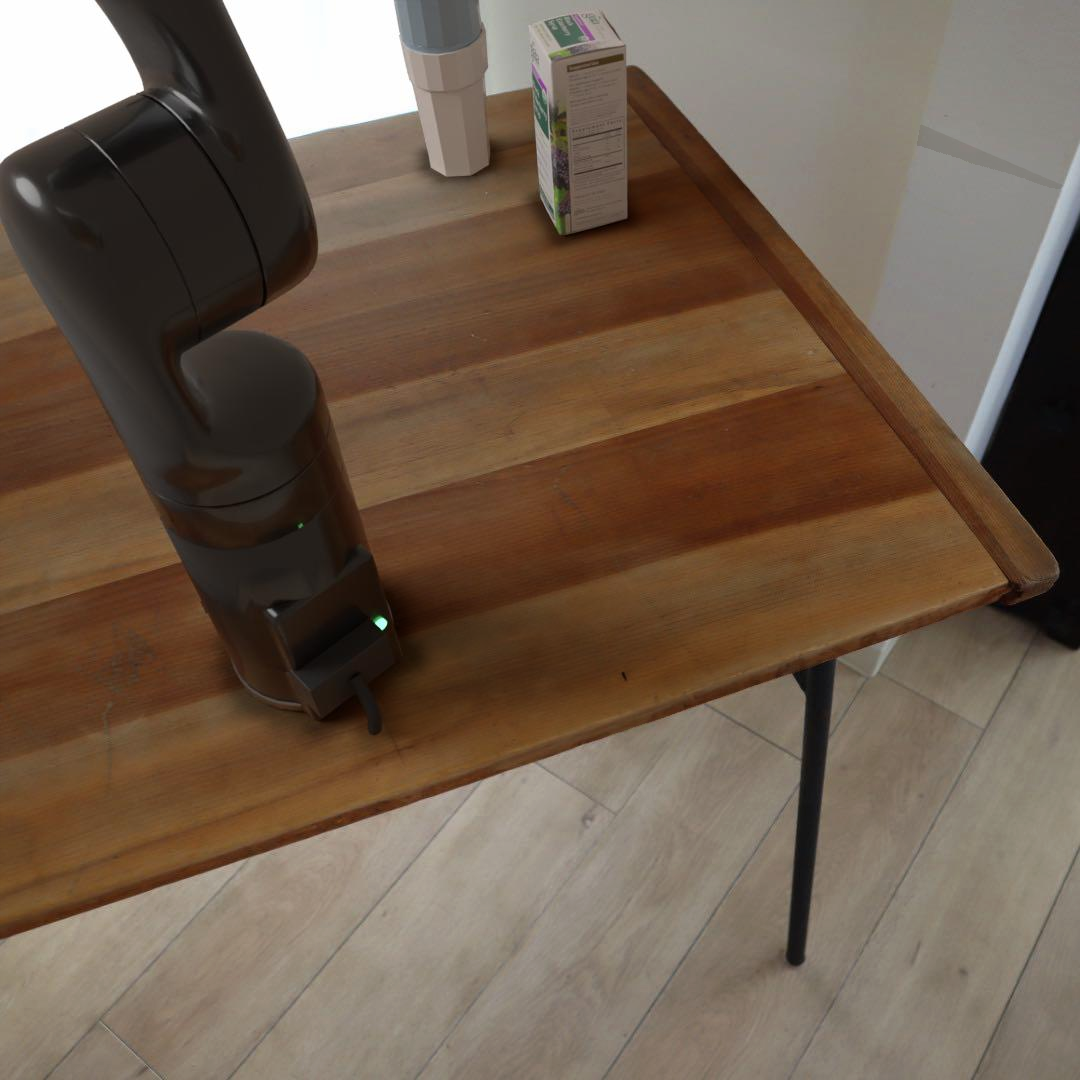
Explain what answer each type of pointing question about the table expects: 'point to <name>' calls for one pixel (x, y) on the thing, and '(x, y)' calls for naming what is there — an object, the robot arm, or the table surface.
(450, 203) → the table surface
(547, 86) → the syrup box
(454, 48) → the glass
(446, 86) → the cup
